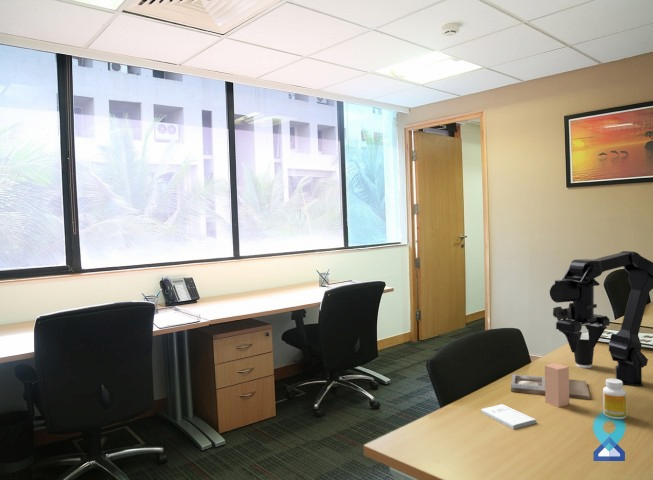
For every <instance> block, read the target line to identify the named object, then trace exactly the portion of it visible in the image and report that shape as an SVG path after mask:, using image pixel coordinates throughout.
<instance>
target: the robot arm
mask: <svg viewBox="0 0 653 480" xmlns="http://www.w3.org/2000/svg"><path fill="white" fill-rule="evenodd" d="M622 267H623V270H625V271H626V272H627V273H628V277H627V278H628V282H629V285H630V287H631V289H630V292H629V296H628V300H627V304H626V307H625V312H624V314H623V315H624V316H623V319H622V322H621V327H620V329H619V331H618V332H616V333H611V335H610V339H609V343H608V344H607V345H608V352H609V353H610V356H611V360H612V361H613V362H617V365H615V379H618V380H621V381H622V382H623V385H628V386H629V385H630V386H638V387H639V386H641V387H643V386H644V384H643V382H642V381H643V379H642V374H643V373H642V372H643V368H644V367H647V364H648V361H649V359H648V357H646V356H645V354H644V353H643V352H642V343H641V340H640V337H639V333H640V329H641V325H642V322H643V318H644V314H645V311H646V306H647V302H648V298H649V295H650V292H651V291H652V290H653V261H652V260H649V259H648V258H645V257H644V256H641V254H639V253H638V252H636V251H630V250H629V251H628V250H627V251H626V250H623V251H620V252H618V253H614V254H610V255H606V256H602V257H598V258H593V259H587V258H584V259H573V260H572V261H571V262H570V265H569V267H568V268H567V270H566V271H565V273H564V275H563V277H562V278H561V279H555V280H554V283H553V284H552V286H551V287H550V289H549V295H550V296H549V297H550V299H551V301H553V302H555V303H557V304H558V303H569V304H568V307H566V308H563V307H562V306H556V307H553V308H552V309H553V311H552V316H553V317H554V318H556V319H557V321H556V322H555V329H556V330H559V332H561V333H562V334H563V335H565V337H566V340H567V343H568V345H569V348H570V351H571V353H576V350H577V348H578V344H579V341H580V338H581V334H582V333H583V332H582V331H581V330H582V329H583V327H585V328H586V330H587V334H588V335H589V345H590V348H594V349H595V348H596V345H597V344H598V342H599V340H600V338H601V336H603V333H604V332H605V331H606V329H607V328H608V326H610V324H611V323H610V322H611V321H610V318H609V317H608V316H607V315H602V314H596V313H595V311H594V309H596V308H597V307H598V305H597V303H594V301H595V300H594V299H595V298H594V297H595V295H594V294H595V291H594V290H595V286H596V287H598V286H600V283H599V281H597V280H596V278H598V277H600V276H601V275H602V273H604V272H606V271H607V272H608V271H610V270H611V271H612V270H614V269H618V268H622ZM594 313H595V314H594Z"/></svg>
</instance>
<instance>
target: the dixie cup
mask: <svg viewBox="0 0 653 480" xmlns="http://www.w3.org/2000/svg"><path fill="white" fill-rule="evenodd" d="M594 353H595V347H594V348H590V345H589V335H588V333H585V332H584V333H583V332H582V334H581V338H580V341H579V344H578V348H577V350H576V353H574V361H575V364H576V367H578V368H581V369H582V368H583V369H591V368H592V367H593V366H592V365H593V362H594Z"/></svg>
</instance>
